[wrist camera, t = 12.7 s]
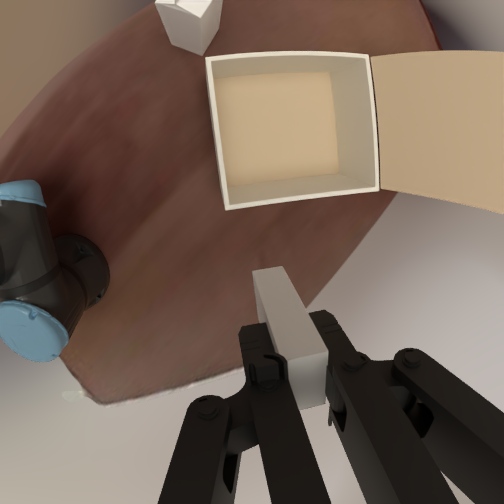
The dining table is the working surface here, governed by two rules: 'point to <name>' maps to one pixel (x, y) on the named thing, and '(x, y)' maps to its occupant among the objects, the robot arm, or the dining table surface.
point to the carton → (292, 125)
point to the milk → (190, 22)
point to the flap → (442, 125)
